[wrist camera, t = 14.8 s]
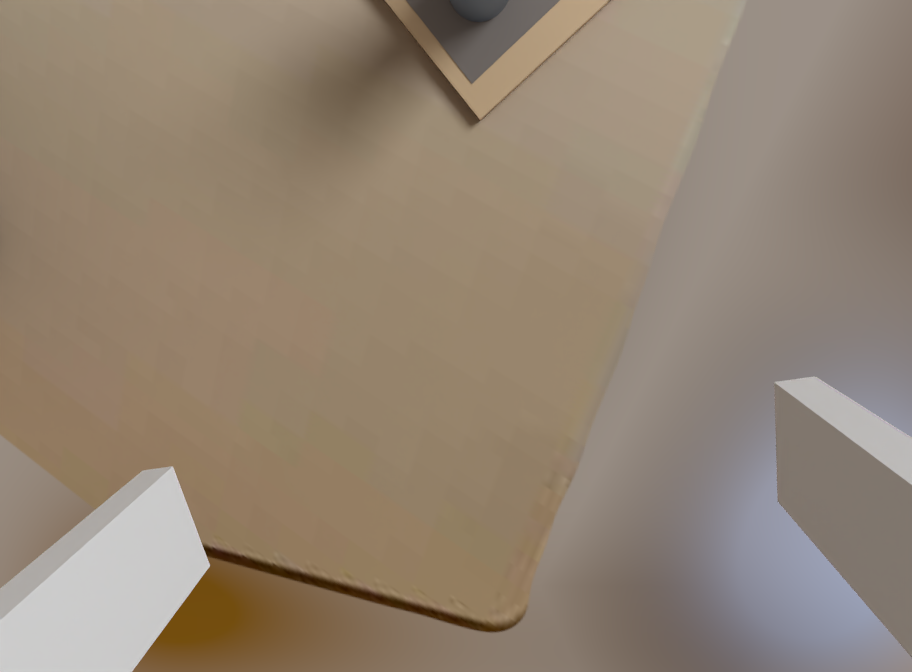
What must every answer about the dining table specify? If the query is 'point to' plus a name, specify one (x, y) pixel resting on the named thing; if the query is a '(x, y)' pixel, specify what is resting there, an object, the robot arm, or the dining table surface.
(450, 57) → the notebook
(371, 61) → the dining table surface
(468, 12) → the blue bottle
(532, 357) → the dining table surface
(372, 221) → the dining table surface
